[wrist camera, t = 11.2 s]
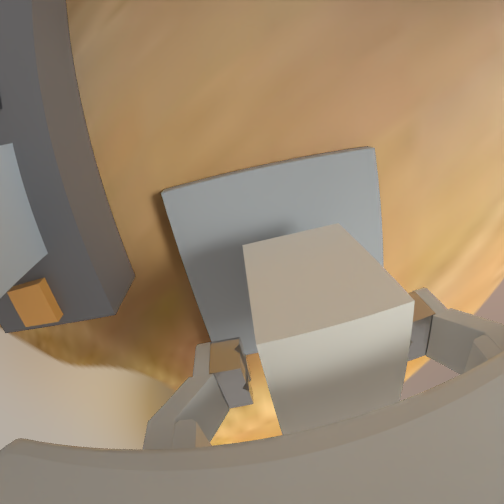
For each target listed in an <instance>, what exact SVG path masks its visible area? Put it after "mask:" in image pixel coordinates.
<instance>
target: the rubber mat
mask: <svg viewBox="0 0 504 504" xmlns="http://www.w3.org/2000/svg"><path fill="white" fill-rule="evenodd" d="M161 195H162V198H163V202H164V205H165V208H166V212H167V215H168V218H169V221H170V225H171V228H172V231H173V234H174V237H175V240H176V243H177V246H178V249H179V252H180V255H181V258H182V261H183V264H184V267H185V270H186V273H187V276H188V279H189V282H190V285H191V287H192V290H193V293H194V296H195V299H196V301H197V304H198V307H199V310H200V312H201V315H202V318H203V320H204V323H205V326H206V328H207V331H208V334H209V336H210V339H211V341H212V342H213V341H219V340H225V339H230V338H236V337H240V338H241V341H242V344H243V351H244V354H245V355H248V354H253V353H258V350H257V346H256V341H255V334H254V326H253V319H252V312H251V305H250V298H249V291H248V283H247V276H246V269H245V261H244V254H243V247H242V245H245V244H249V243H254V242H258V241H262V240H267V239H271V238H275V237H280V236H284V235H288V234H293V233H297V232H302V231H306V230H310V229H315V228H319V227H323V226H328V225H332V224H337V223H339V224H340V225H341V226H342V227H343V228H344V229H345V230H346V231H347V232H348V233H349V234H350V235H351V236H352V237H353V238H354V239H356V240H357V241H358V242H359V243H360V244H361V245H362V246H363V247H364V248H365V249H366V250H367V251H368V252H369V253H370V254H371V255H372V256H373V257H374V258H375V259H376V260H377V261H378V262H379V263H380V265H381V266H382V267H383V238H382V219H381V204H380V192H379V182H378V172H377V163H376V155H375V148H373V147H368V146H366V147H359V148H353V149H346V150H340V151H334V152H328V153H322V154H316V155H311V156H305V157H300V158H295V159H290V160H284V161H280V162H275V163H270V164H265V165H260V166H256V167H251V168H247V169H242V170H238V171H234V172H229V173H225V174H221V175H217V176H213V177H209V178H205V179H201V180H197V181H193V182H190V183H186V184H182V185H178V186H175V187H171V188H168V189H164V190H163V191H162V192H161Z"/></svg>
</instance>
